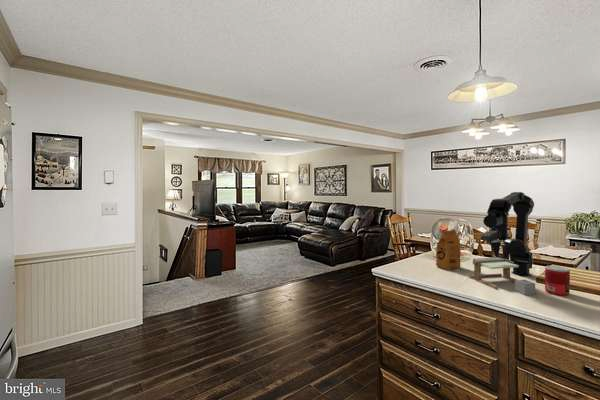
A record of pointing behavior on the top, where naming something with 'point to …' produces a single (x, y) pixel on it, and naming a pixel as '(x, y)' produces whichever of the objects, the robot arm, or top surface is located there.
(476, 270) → the frame
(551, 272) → the canned food
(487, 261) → the trapdoor
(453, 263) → the coffee package
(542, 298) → the top surface
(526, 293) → the stone
